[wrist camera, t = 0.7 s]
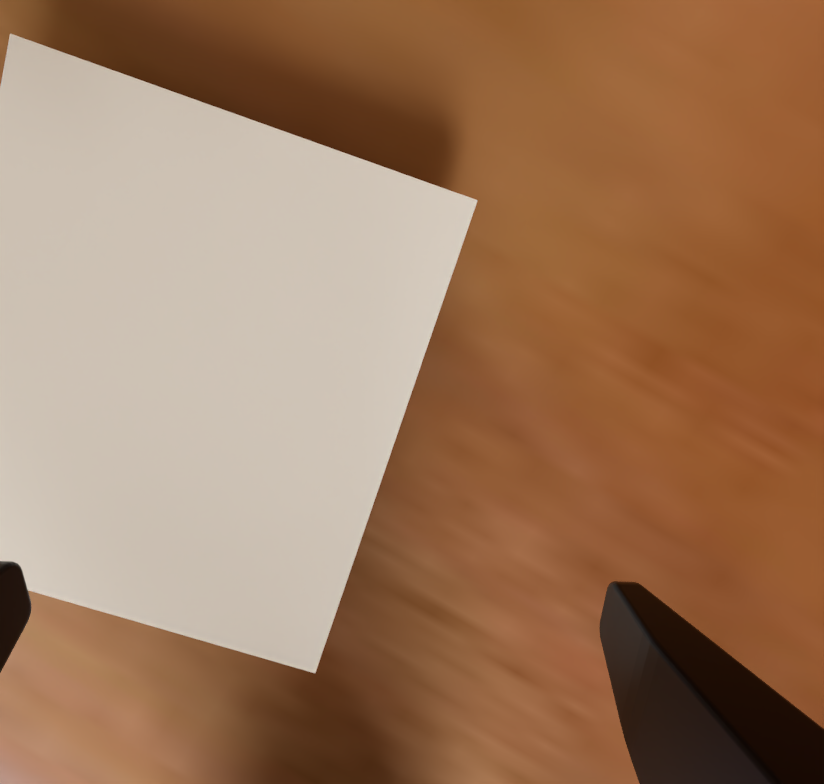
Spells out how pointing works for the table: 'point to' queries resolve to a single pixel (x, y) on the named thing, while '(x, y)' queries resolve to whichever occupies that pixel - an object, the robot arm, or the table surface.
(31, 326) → the white slab
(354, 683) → the table surface
